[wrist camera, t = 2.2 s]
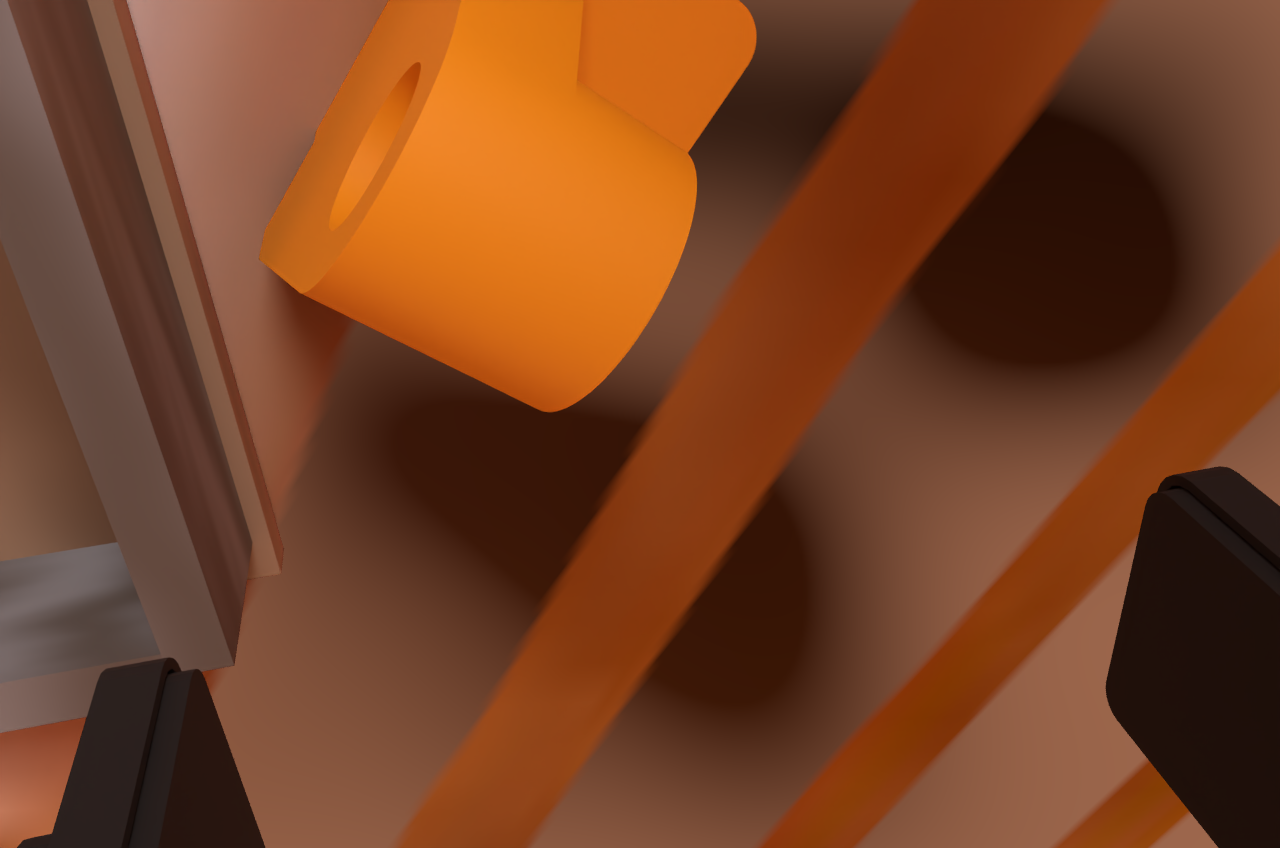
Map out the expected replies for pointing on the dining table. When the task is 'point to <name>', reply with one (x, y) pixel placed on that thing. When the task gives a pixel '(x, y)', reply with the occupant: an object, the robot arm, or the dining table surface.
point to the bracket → (511, 180)
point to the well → (108, 382)
